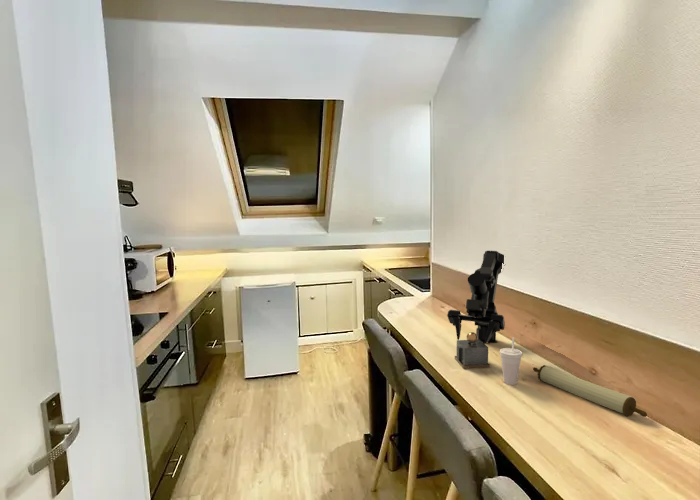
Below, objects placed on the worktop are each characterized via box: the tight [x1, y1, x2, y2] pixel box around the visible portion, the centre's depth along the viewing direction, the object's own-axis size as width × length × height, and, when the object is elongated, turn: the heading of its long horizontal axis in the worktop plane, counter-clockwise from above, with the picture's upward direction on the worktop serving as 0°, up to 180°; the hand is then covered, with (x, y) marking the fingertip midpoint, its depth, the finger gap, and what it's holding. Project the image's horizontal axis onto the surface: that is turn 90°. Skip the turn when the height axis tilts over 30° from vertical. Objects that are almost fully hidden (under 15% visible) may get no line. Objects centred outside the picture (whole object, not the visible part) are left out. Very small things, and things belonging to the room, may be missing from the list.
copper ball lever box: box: [454, 339, 491, 370], centre depth 138 cm, size 9×9×7 cm
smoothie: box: [499, 336, 523, 386], centre depth 122 cm, size 6×6×14 cm
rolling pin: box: [532, 364, 648, 418], centre depth 112 cm, size 32×6×5 cm, turn 27°
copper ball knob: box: [466, 331, 478, 345], centre depth 137 cm, size 6×6×9 cm
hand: (471, 341), depth 137 cm, fingers open, 9 cm apart
